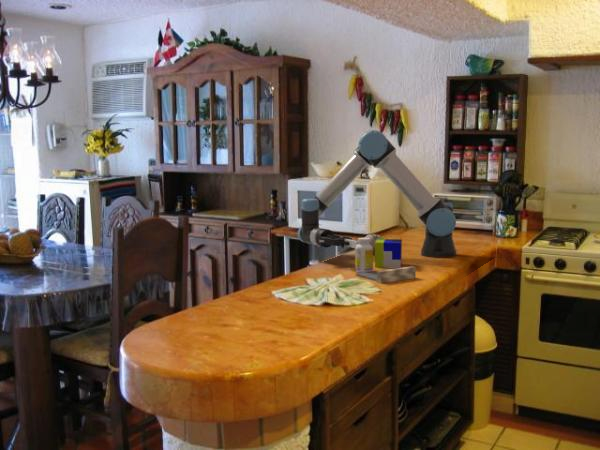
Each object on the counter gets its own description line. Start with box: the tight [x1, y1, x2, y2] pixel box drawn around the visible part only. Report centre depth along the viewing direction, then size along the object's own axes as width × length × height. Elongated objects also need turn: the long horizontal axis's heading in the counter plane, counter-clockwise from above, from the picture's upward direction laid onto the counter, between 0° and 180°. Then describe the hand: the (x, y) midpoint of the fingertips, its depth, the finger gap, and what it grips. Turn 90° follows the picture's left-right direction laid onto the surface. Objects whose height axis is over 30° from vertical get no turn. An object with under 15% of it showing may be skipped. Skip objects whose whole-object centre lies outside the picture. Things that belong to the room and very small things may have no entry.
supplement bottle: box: [354, 237, 374, 273], centre depth 236 cm, size 7×7×13 cm
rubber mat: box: [355, 269, 382, 282], centre depth 227 cm, size 14×14×1 cm
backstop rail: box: [376, 265, 416, 284], centre depth 220 cm, size 16×2×4 cm, turn 121°
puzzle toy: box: [374, 238, 403, 269], centre depth 248 cm, size 10×10×10 cm
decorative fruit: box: [364, 233, 383, 255], centre depth 276 cm, size 9×8×10 cm
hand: (355, 244), depth 239 cm, fingers closed
